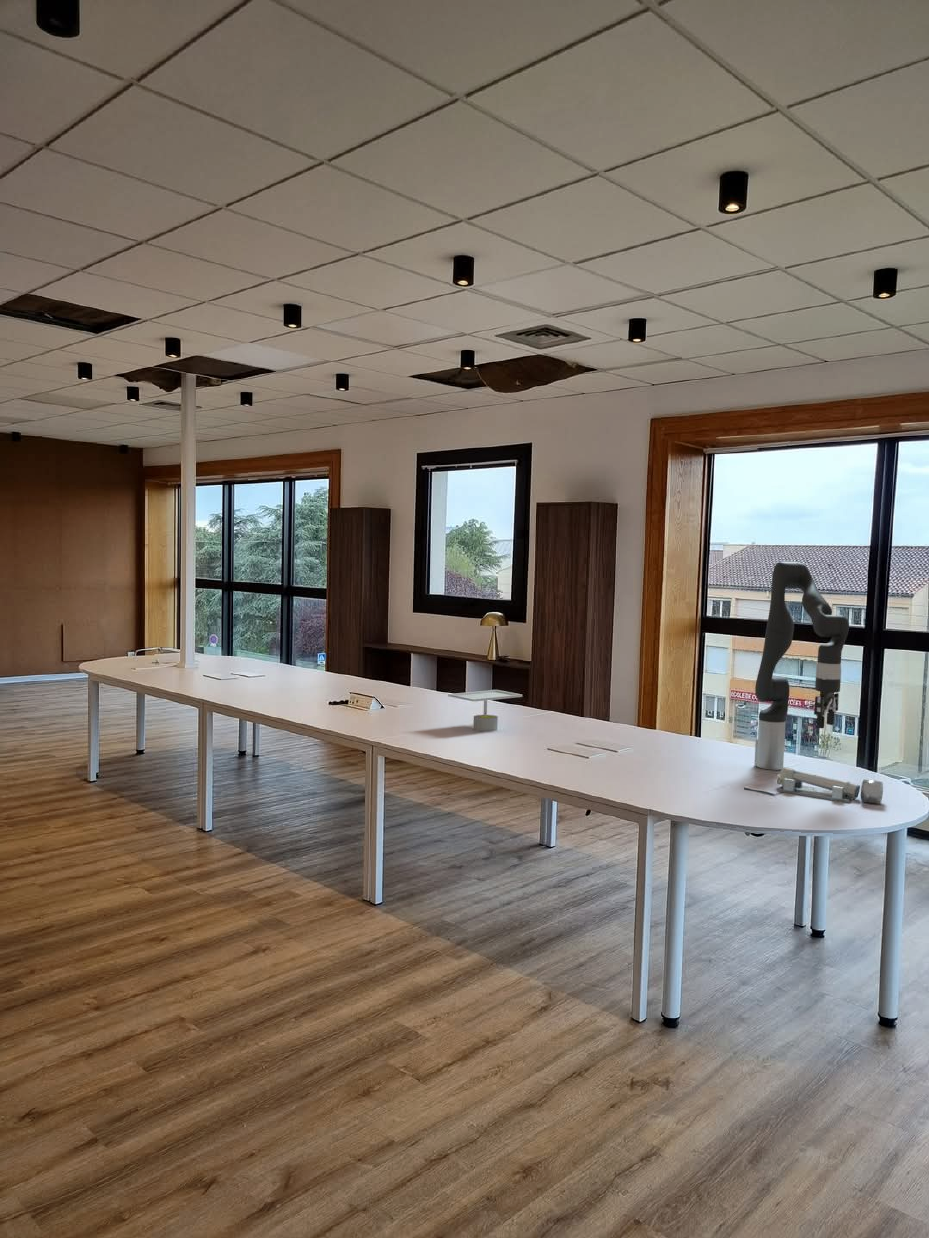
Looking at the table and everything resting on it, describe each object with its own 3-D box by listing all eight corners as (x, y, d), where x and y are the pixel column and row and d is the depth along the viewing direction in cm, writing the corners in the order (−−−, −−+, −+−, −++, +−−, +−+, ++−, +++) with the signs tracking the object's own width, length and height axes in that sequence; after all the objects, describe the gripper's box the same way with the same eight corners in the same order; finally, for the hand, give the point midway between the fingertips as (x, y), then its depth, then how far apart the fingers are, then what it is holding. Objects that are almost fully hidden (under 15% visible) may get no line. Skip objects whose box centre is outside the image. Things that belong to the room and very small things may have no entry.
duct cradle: (777, 791, 298) (778, 769, 298) (786, 785, 307) (787, 764, 306) (876, 807, 281) (877, 784, 280) (883, 800, 289) (884, 778, 289)
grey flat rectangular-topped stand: (495, 722, 410) (496, 689, 410) (521, 728, 397) (522, 694, 396) (446, 728, 393) (447, 694, 392) (472, 735, 380) (473, 699, 379)
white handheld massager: (857, 786, 287) (777, 764, 301) (853, 806, 288) (773, 783, 302) (861, 783, 291) (782, 761, 305) (857, 803, 292) (778, 780, 306)
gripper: (824, 673, 304) (822, 721, 305) (808, 677, 293) (805, 727, 295) (848, 676, 299) (845, 725, 300) (831, 680, 288) (828, 731, 290)
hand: (825, 726), depth 297 cm, fingers open, 8 cm apart
